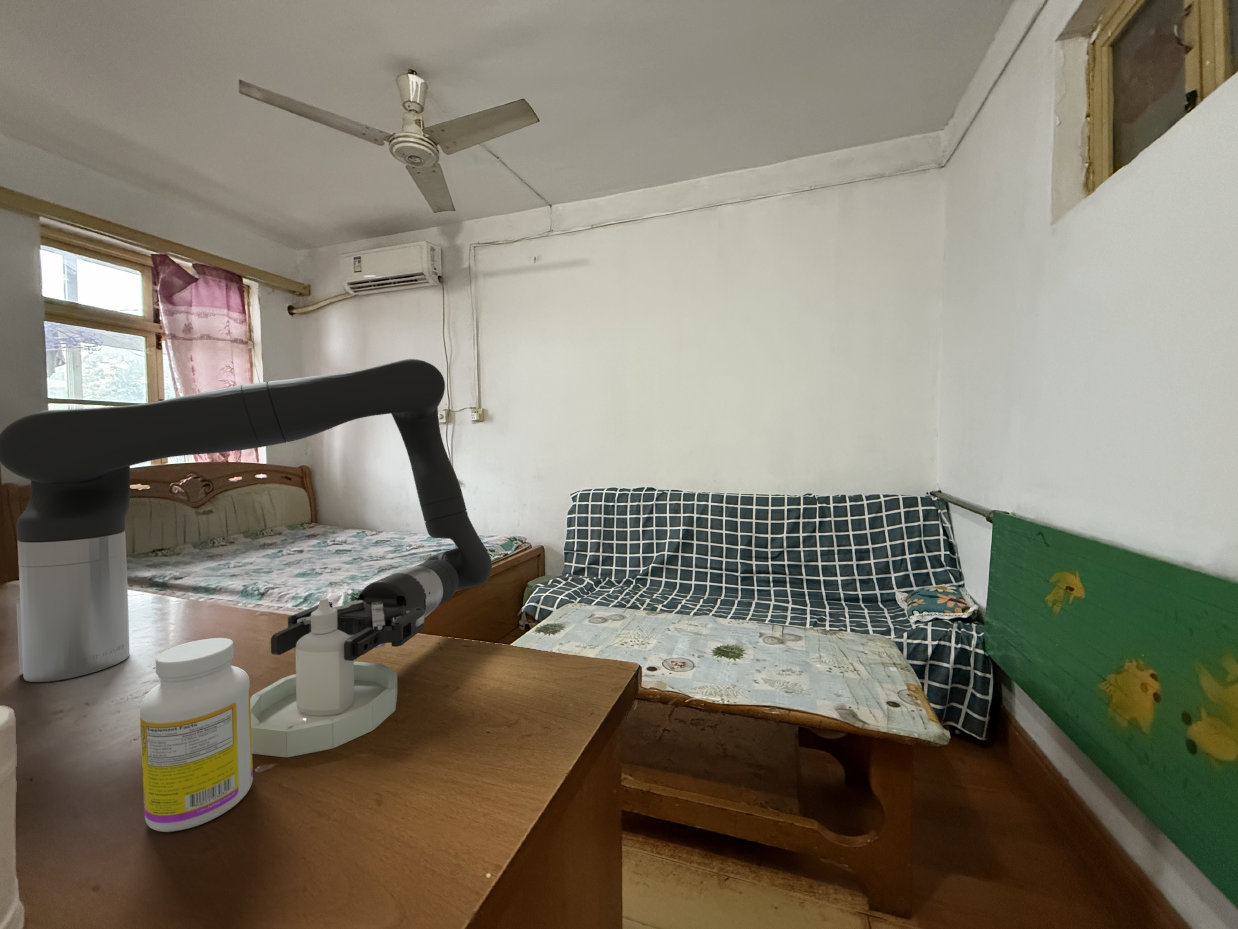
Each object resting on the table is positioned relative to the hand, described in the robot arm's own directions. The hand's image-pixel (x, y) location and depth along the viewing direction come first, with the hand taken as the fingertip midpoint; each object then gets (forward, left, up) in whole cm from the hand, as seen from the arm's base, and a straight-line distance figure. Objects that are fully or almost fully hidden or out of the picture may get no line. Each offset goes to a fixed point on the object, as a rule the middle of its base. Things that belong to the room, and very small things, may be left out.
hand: (310, 649), depth 50 cm
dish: (0, +2, -8) cm, 8 cm away
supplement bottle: (0, -11, -8) cm, 14 cm away
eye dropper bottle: (0, +2, -8) cm, 8 cm away
